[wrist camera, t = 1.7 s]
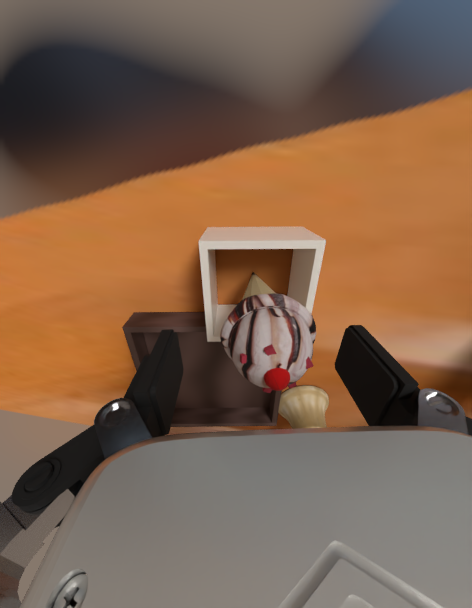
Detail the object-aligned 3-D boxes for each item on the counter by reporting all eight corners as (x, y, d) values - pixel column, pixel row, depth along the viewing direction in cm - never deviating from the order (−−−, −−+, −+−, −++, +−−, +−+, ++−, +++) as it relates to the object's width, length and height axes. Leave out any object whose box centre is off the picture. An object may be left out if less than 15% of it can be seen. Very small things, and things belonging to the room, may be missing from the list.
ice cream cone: (216, 262, 22) (191, 372, 9) (265, 234, 21) (319, 315, 8) (243, 303, 24) (254, 437, 11) (288, 280, 23) (359, 402, 10)
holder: (302, 226, 20) (326, 240, 15) (290, 308, 25) (305, 340, 20) (207, 227, 20) (198, 241, 15) (213, 309, 25) (207, 341, 20)
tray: (285, 311, 25) (291, 325, 22) (273, 407, 34) (276, 425, 31) (134, 312, 25) (122, 327, 22) (160, 408, 34) (154, 426, 31)
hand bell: (296, 424, 36) (335, 573, 22) (264, 402, 33) (287, 557, 19) (338, 402, 33) (413, 556, 19) (308, 376, 31) (370, 535, 17)
